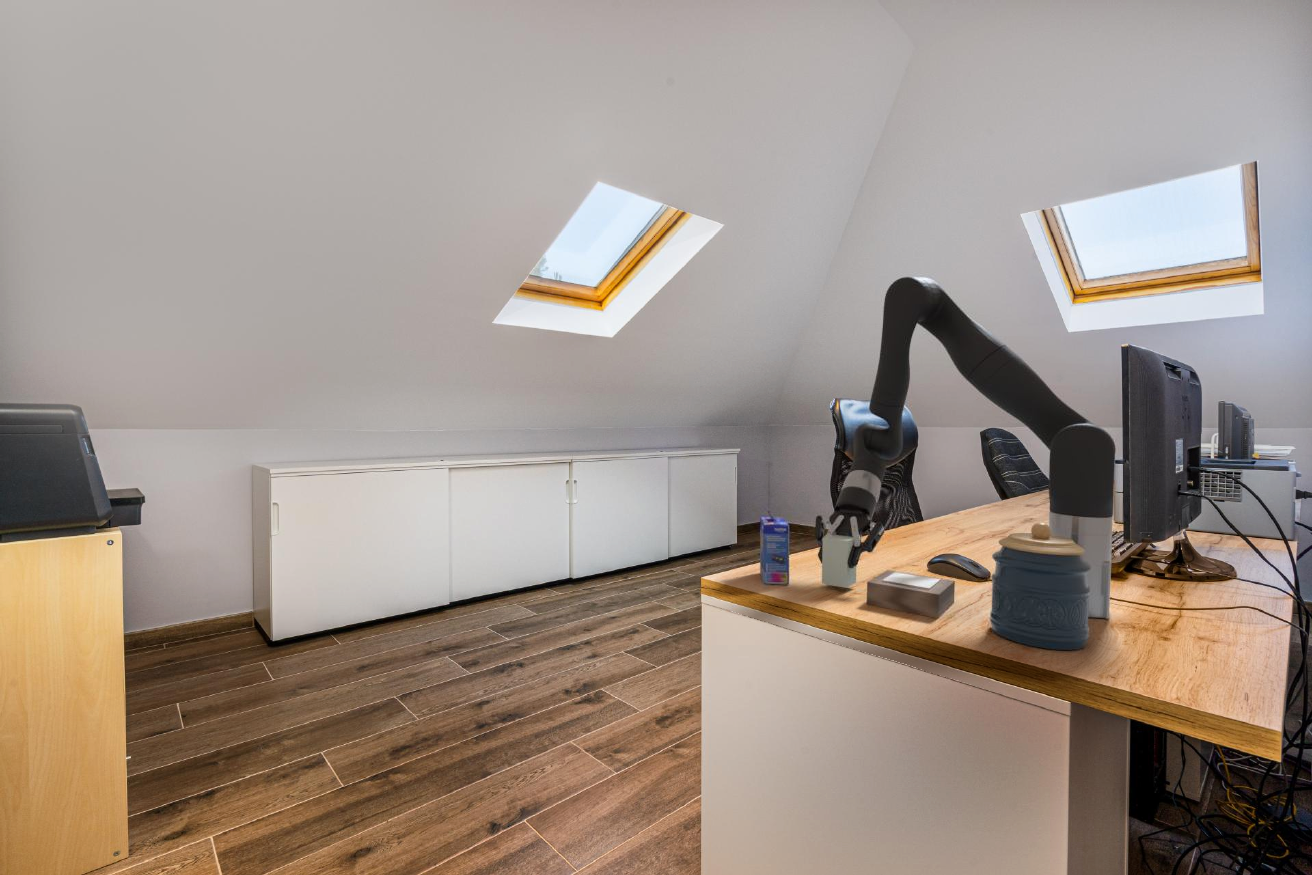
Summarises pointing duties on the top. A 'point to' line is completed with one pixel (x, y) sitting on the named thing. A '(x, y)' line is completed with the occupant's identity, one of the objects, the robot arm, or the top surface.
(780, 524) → the ink cartridge box
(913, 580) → the walnut plinth
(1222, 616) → the top surface
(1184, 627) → the top surface
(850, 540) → the sage block
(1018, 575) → the canister
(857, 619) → the top surface
